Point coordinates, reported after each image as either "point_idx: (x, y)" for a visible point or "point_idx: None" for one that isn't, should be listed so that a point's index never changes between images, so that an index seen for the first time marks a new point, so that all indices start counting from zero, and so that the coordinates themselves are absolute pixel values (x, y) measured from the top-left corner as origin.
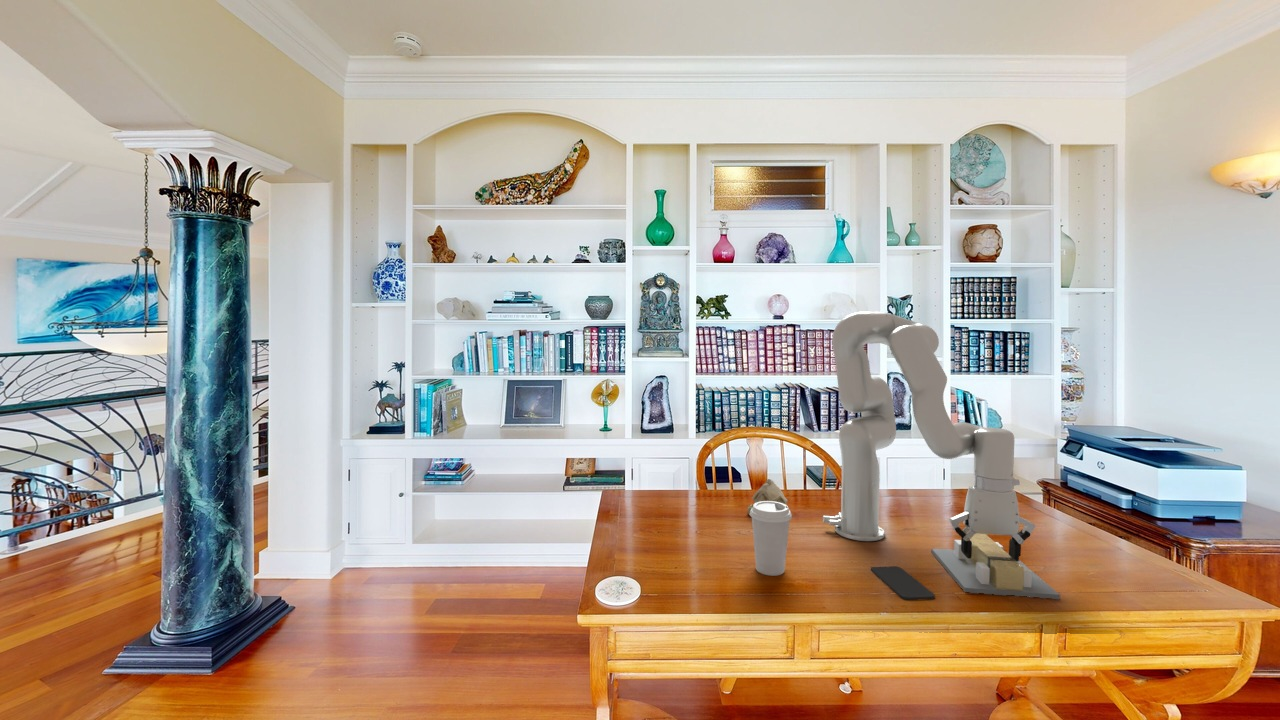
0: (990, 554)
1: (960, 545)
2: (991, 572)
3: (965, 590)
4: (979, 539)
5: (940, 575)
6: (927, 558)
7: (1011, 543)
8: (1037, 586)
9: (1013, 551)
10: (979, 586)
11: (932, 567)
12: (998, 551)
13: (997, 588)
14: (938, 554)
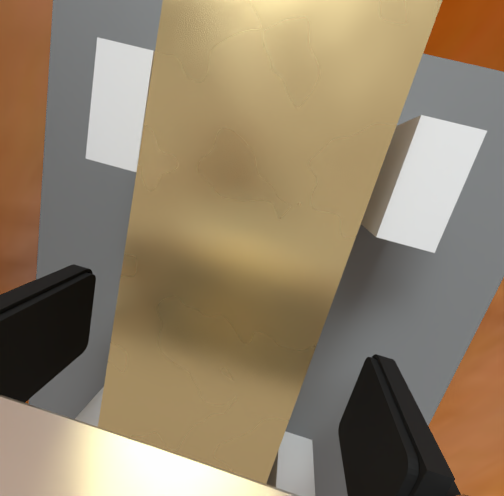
0: None
1: (103, 160)
2: None
3: None
4: (226, 206)
5: (10, 285)
6: (20, 85)
7: (385, 479)
8: (330, 487)
9: (355, 460)
10: None
11: (6, 202)
12: (216, 457)
13: None
14: (58, 84)
